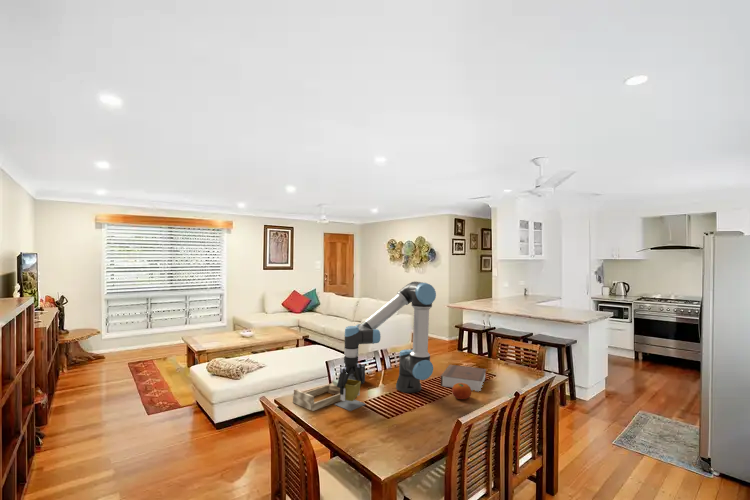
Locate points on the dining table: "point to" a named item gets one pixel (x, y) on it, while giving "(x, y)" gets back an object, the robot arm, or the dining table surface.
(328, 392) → the offcut walnut
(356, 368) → the small box
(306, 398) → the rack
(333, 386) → the offcut oak
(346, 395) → the flower pot
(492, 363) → the dining table surface
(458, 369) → the book
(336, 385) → the offcut sage
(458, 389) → the fruit
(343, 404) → the felt mat
